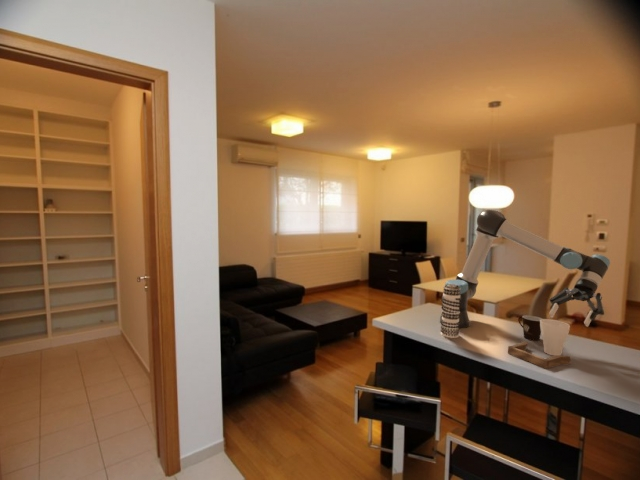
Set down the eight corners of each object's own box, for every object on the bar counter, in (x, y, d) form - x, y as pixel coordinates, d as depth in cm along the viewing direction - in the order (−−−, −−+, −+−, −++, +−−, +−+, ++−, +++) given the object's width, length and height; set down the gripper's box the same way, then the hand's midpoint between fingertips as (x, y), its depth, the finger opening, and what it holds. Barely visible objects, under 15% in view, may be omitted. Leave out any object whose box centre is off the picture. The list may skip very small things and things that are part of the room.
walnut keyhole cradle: (504, 351, 139) (504, 345, 139) (523, 347, 145) (524, 340, 145) (550, 370, 122) (551, 362, 122) (570, 364, 128) (571, 356, 128)
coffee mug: (545, 342, 152) (547, 321, 151) (525, 340, 153) (526, 320, 153) (534, 334, 163) (535, 314, 162) (515, 332, 165) (517, 313, 164)
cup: (574, 358, 134) (576, 326, 133) (550, 358, 133) (553, 326, 132) (554, 348, 145) (556, 318, 144) (532, 348, 144) (534, 318, 143)
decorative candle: (455, 332, 163) (458, 283, 162) (462, 338, 154) (465, 287, 152) (437, 331, 164) (439, 282, 162) (443, 337, 155) (445, 286, 153)
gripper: (625, 294, 137) (605, 334, 131) (560, 283, 159) (540, 317, 153) (620, 283, 134) (599, 323, 128) (554, 273, 156) (534, 307, 151)
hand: (567, 320), depth 141 cm, fingers open, 13 cm apart
